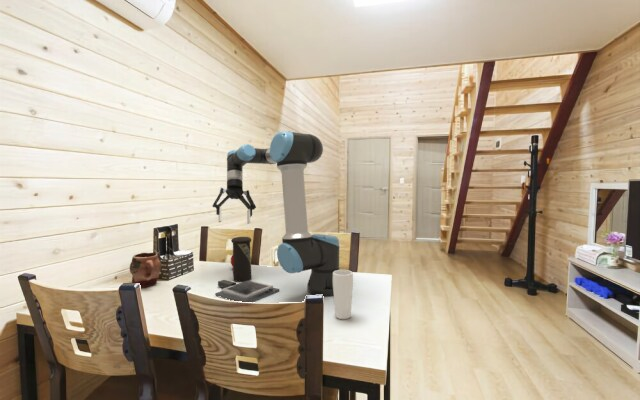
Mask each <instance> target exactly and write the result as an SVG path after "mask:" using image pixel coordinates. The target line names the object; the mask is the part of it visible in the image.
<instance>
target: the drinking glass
mask: <svg viewBox="0 0 640 400" xmlns="http://www.w3.org/2000/svg"><path fill="white" fill-rule="evenodd" d="M353 287H354V274H353V271H351V270H349V269H339V270H336V271H334V272H333V294H334V295H333V302H334V303H333V305H334V316H335V318H336V319H338V320H348V319H349V318H351V316H352V304H353V303H352V302H353Z"/></svg>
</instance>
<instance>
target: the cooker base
mask: <svg viewBox="0 0 640 400" xmlns="http://www.w3.org/2000/svg"><path fill="white" fill-rule="evenodd" d="M217 287H221V290H220V291H218V292H215V295H216V296H215V295H214V296H215V297H218V296H221V297H222V298H221V297H220V298H221V299H225V298H227V299H226V300H228V301H231V300H234V301H242V302H252V303H255V302H258V301H259V300H262V299H264V298H265V299H266V298H267V297H269V296H271V295H274V294H276V293H279V292H280V288H276V287H274V285H272V284H271V285H270V284H267V283H263V282H258V281H255V280H254V281H253V280H248V281H244V282H239V283H236V281H231V280H226V279H221V280H218V281H217ZM229 299H230V300H229ZM234 301H233V302H234Z"/></svg>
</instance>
